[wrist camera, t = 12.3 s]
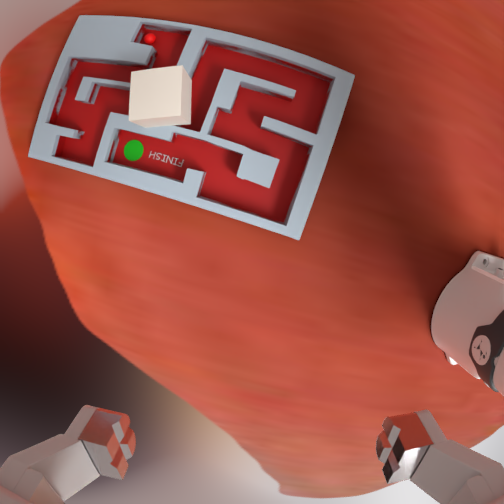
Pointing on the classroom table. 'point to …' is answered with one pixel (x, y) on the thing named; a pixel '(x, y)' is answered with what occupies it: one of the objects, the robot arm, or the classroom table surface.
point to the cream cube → (160, 97)
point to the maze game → (197, 118)
